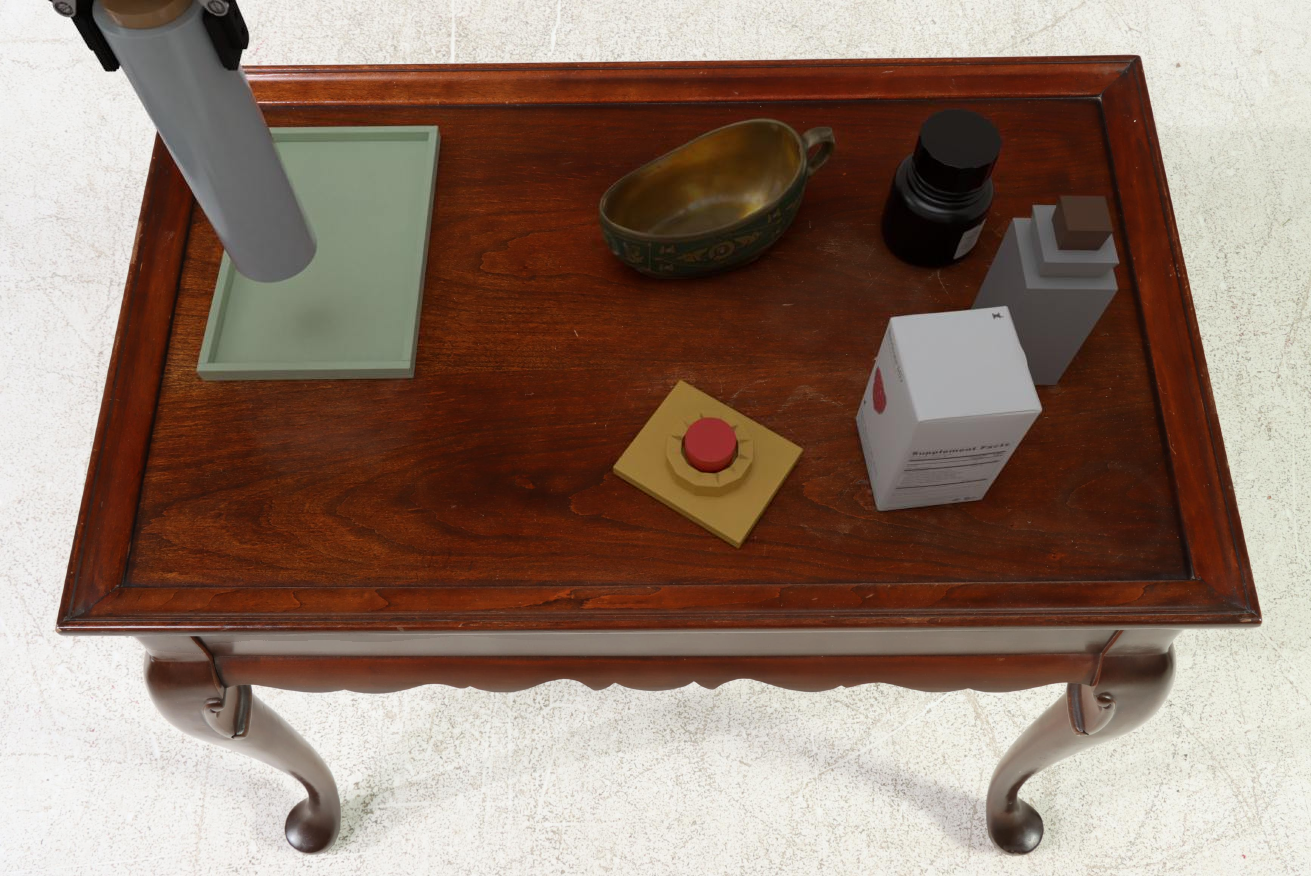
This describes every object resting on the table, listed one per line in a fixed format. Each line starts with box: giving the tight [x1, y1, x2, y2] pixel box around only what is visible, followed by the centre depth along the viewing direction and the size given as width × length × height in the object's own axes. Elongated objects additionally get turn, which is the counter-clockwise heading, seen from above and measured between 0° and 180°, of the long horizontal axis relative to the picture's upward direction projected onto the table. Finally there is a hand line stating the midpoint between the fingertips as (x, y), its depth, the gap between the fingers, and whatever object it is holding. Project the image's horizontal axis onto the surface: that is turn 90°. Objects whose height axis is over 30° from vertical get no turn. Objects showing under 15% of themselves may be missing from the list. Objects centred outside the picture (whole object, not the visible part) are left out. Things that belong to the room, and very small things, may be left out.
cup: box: [598, 117, 836, 280], centre depth 91 cm, size 13×20×10 cm, turn 86°
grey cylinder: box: [92, 0, 317, 283], centre depth 70 cm, size 7×7×24 cm
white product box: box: [855, 306, 1043, 512], centre depth 78 cm, size 9×9×15 cm
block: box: [612, 379, 804, 549], centre depth 83 cm, size 10×12×3 cm
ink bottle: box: [880, 108, 1003, 267], centre depth 91 cm, size 10×9×12 cm
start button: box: [685, 417, 736, 472], centre depth 81 cm, size 4×4×2 cm
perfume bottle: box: [970, 195, 1120, 386], centre depth 82 cm, size 7×7×18 cm
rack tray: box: [196, 125, 442, 382], centre depth 94 cm, size 28×18×2 cm, turn 1°
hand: (176, 53), depth 64 cm, fingers closed on grey cylinder, 6 cm apart
